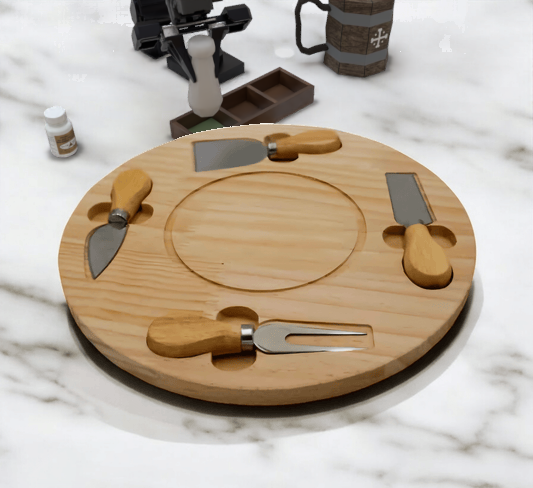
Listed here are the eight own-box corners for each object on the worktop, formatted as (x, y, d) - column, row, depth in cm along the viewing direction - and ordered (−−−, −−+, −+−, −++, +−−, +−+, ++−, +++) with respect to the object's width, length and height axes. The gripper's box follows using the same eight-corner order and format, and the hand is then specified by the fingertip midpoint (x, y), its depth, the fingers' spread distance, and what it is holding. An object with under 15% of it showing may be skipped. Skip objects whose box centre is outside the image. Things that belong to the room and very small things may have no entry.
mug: (379, 41, 137) (388, -31, 126) (397, 75, 127) (409, 0, 117) (287, 48, 135) (288, -24, 124) (298, 82, 125) (301, 8, 115)
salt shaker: (225, 118, 107) (221, 46, 98) (190, 122, 107) (183, 50, 97) (220, 99, 111) (216, 28, 102) (187, 102, 111) (180, 31, 101)
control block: (167, 67, 130) (164, 49, 127) (206, 50, 134) (204, 32, 132) (205, 91, 123) (203, 72, 121) (244, 72, 128) (244, 54, 125)
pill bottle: (65, 161, 108) (54, 122, 103) (46, 152, 110) (34, 114, 105) (83, 147, 111) (74, 109, 106) (64, 139, 113) (54, 101, 107)
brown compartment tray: (171, 137, 113) (169, 120, 111) (279, 82, 126) (279, 66, 123) (204, 161, 108) (203, 144, 106) (313, 102, 121) (314, 85, 118)
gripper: (124, -29, 92) (153, 78, 93) (247, -49, 97) (274, 53, 98) (120, 0, 103) (146, 96, 104) (231, -18, 108) (255, 74, 109)
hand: (205, 80), depth 103 cm, fingers closed on salt shaker, 3 cm apart
